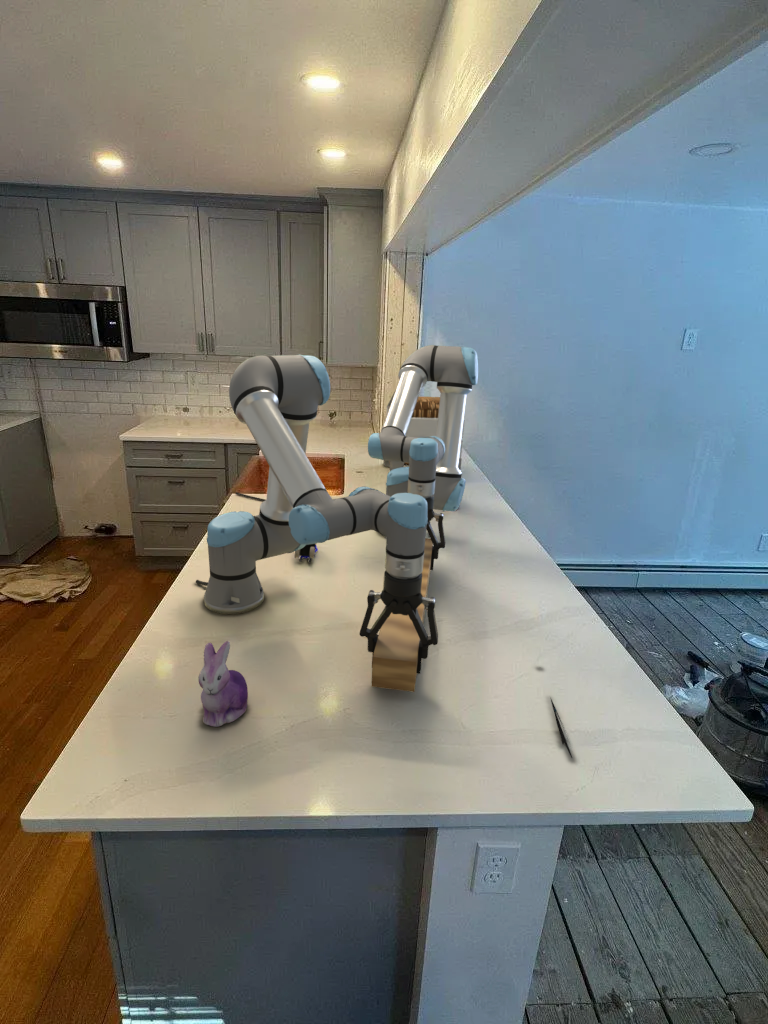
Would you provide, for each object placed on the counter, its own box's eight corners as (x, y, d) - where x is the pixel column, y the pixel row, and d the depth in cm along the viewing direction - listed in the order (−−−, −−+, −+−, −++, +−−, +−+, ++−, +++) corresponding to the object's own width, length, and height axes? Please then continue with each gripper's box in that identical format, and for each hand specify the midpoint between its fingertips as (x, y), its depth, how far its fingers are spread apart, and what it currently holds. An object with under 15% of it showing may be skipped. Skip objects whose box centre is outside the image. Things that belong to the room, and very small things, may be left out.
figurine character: (315, 569, 173) (320, 545, 186) (315, 547, 170) (319, 524, 183) (293, 568, 173) (299, 544, 186) (293, 547, 169) (299, 524, 183)
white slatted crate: (382, 463, 289) (386, 382, 275) (445, 464, 293) (451, 384, 279) (390, 482, 257) (394, 392, 243) (460, 483, 261) (468, 394, 247)
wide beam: (403, 557, 173) (404, 536, 171) (431, 560, 172) (433, 538, 170) (371, 686, 114) (372, 656, 112) (414, 692, 113) (416, 662, 111)
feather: (540, 672, 128) (545, 666, 127) (572, 762, 101) (579, 755, 101) (533, 668, 128) (539, 662, 127) (564, 758, 101) (571, 750, 100)
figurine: (205, 736, 103) (200, 666, 98) (195, 702, 111) (189, 636, 106) (256, 721, 107) (254, 653, 102) (243, 690, 116) (239, 626, 111)
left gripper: (346, 573, 109) (343, 671, 117) (458, 586, 107) (446, 684, 115) (353, 557, 116) (349, 650, 124) (458, 568, 114) (447, 662, 122)
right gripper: (380, 495, 156) (377, 568, 164) (459, 501, 154) (452, 576, 162) (384, 486, 163) (381, 557, 171) (459, 492, 161) (452, 564, 169)
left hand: (396, 666), depth 120 cm, fingers closed on wide beam, 9 cm apart
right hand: (415, 566), depth 166 cm, fingers closed on wide beam, 9 cm apart
